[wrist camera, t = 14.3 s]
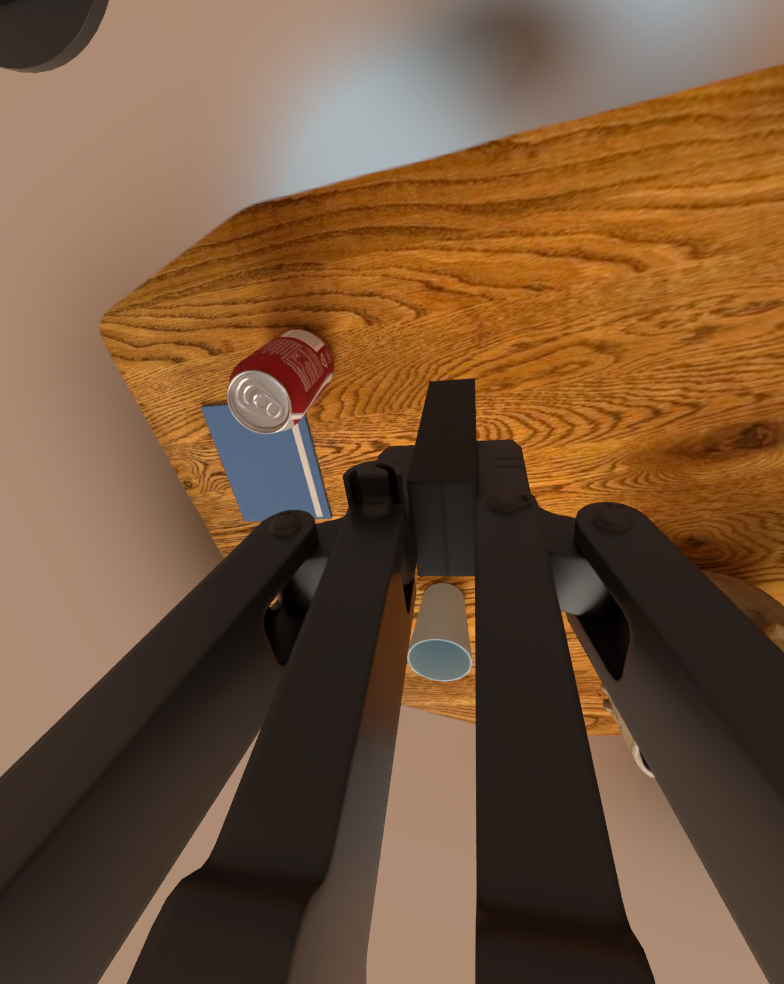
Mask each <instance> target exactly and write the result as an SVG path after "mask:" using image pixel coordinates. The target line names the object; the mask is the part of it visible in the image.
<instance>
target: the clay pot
mask: <svg viewBox="0 0 784 984" xmlns="http://www.w3.org/2000/svg"><path fill="white" fill-rule="evenodd" d="M701 571H702V570H701ZM702 572H703V573H704V574H705V575H706V576H707V577H708V578H709V579H710V580H711V581H712V582H713V583H714V584H715V585H716V586H717V587H718V588H719V589H720V590H721V591H722V592H723V593H724V594H725V595H726V596H727V597H728V598H729V599H730V600H731V601H732V602H733V603H734V604H735V605H736V606H737V607H738V608H739V609H740V610H741V611H742V612H744V613H745V614H746V615H747V616H748V617H749V618H750V619H751V620H752V621H753V622H754V623H755V624H756V625H757V626H758V627H759V628H760V629H761V630H762V631H763V632H764V633H765V634H766V635H767V636H768V637H769V638H770V639H771V640H772V641H773V642H774V643H775V644H776V645H777V646H778V647H779V648H780V649H781V650H782V651H783V652H784V607H783V606H782V605H781V603H780V602H778V601H777V600H775V599H774V598H773V597H771V596H770V595H768V594H767V593H766V592H764V591H762V590H761V589H759V588H757V587H755V586H753V585H751V584H749V583H747V582H745V581H743V580H741V579H739V578H736V577H733V576H729V575H726V574H722V573H716V572H711V571H702ZM601 688H602V690H603V691H604V693H605V694H606V695H607V696H608V697H609V699H605V700H603V707H604V708H605V709H607V710H608V711H609V712H610V713H611V714H612V715H613V717H614V719H615V721H616V722H617V724H618V725H619V729H620V731H621V733H622V736H623V738H624V740H625V742H626V744H627V746H628V747H629V749H630V751H631V753H632V755H633V757H634V759H635V761H636V763H637V764H638V766H639V767H640V768H641V769H642V770H643V772H644V773H646V774H647V775H648V776H650V777H653V778H655V777H654V775H653V773H652V771H651V769H650V768H649V766H648V764H647V762H646V760H645V759H644V757H643V755H642V753H641V751H640V750H639V748H638V746H637V744H636V742H635V741H634V739H633V737H632V735H631V733H630V732H629V730H628V728H627V726H626V724H625V723H624V721H623V719H622V717H621V715H620V714H619V712H618V710H617V708H616V706H615V705H614V703H613V701H612V699H611V697H610V695H609V694H608V692H607V690H606V688H605V686H604V685H603V684H602V685H601Z"/></svg>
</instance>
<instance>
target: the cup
mask: <svg viewBox="0 0 784 984" xmlns="http://www.w3.org/2000/svg"><path fill="white" fill-rule="evenodd" d="M407 660H408V663H409V665H410V667H411V668H412V669H413V670H414V671H415V672H416V673H418V674H419V675H421V676H423V677H425V678H428V679H431V680H435V681H452V680H456V679H459V678H462V677H463V676H465V675H466V674H467V673H468V672H469V671H470V669H471V667H472V655H471V647H470V640H469V632H468V624H467V616H466V609H465V601H464V596H463V594H462V592H461V590H460V589H458V588H457V587H456V586H454V585H451V584H448V583H437V584H434V585H431V586H430V587H428V588H427V589H426V591H425V592H424V596H423V599H422V603H421V606H420V610H419V614H418V617H417V621H416V624H415V628H414V632H413V635H412V639H411V642H410V646H409V650H408V656H407Z"/></svg>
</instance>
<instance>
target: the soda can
mask: <svg viewBox="0 0 784 984" xmlns="http://www.w3.org/2000/svg"><path fill="white" fill-rule="evenodd" d="M333 372H334V361H333V357H332V354H331V352H330V350H329V348H328V346H327V345H326V344H325V342H324V341H323V340H322V339H321V338H320V337H318V336H317V335H315V334H314V333H312V332H309V331H307V330H302V329H292V330H288V331H285V332H284V333H282V334H280V335H279V336H277V337H276V338H275V339H273V340H272V341H270V342H269V343H267V344H266V345H264V346H263V347H261V348H260V349H259V350H257V351H256V352H254V353H253V354H251V355H250V356H248V357H247V358H245V359H244V360H243V361H241V362H240V363H239V364H238V365H237V366H236V367H235V368H234V370H233V372H232V374H231V376H230V380H229V385H228V388H227V403H228V406H229V409H230V411H231V413H232V414H233V416H234V417H235V419H236V420H237V421H238V422H239V423H240V424H241V425H243V426H244V427H245V428H247V429H249V430H251V431H253V432H256V433H260V434H272V433H276V432H281V431H285V430H288V429H290V428H292V427H293V426H295V425H296V424H297V423H298V422H299V421H300V420H301V418H302V417H303V416H304V415H305V413H306V412H307V411H308V409H309V408H310V407H311V406H312V404H313V403H314V402H315V401H316V399H317V398H318V397H319V396H320V394H321V393H322V392H323V391H324V389H325V388H326V387H327V386H328V384H329V383H330V381H331V379H332V376H333Z"/></svg>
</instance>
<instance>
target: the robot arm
mask: <svg viewBox="0 0 784 984" xmlns="http://www.w3.org/2000/svg"><path fill="white" fill-rule="evenodd" d="M14 1H16V0H0V5H4V4H8V3H12V2H14ZM343 480H344V485H345V490H346V495H347V500H348V505H349V508H348V510H347V513H346V515H345V516H344V517H342V518H339V519H336V520H332V521H328V522H323V523H319V524H315V520H314V517H313V516H312V515H311V514H310V513H309V512H306V511H303V510H286V511H282V512H279V513H277V514H275V515H272V516H270V517H268V518H267V519H266V520H264V521H263V522H262V523H261V524H259V525H258V526H257V527H256V528H255V529H254V530H253V531H252V532H251V533H250V534H249V535H248V536H247V537H246V538H245V539H244V540H243V541H242V542H241V543H240V544H239V545H238V546H237V547H236V548H235V549H234V550H233V551H232V552H231V553H230V554H229V555H228V556H227V557H226V558H225V559H224V560H223V561H222V562H221V563H220V564H218V565H217V566H216V567H215V568H214V569H213V570H212V571H211V572H210V573H209V574H208V575H207V576H206V577H205V578H204V579H203V580H202V581H201V582H200V583H199V584H198V585H197V586H196V587H195V588H194V589H193V590H192V591H191V592H190V593H189V594H188V595H187V596H186V597H185V598H184V599H183V600H182V601H181V602H180V603H178V605H176V606H175V607H174V608H173V609H172V610H171V611H170V612H169V613H168V614H167V615H166V616H165V617H164V618H163V619H162V620H161V621H160V622H159V623H158V624H157V625H156V626H155V627H154V628H153V629H152V630H151V631H150V632H149V633H148V634H147V635H146V636H145V637H144V638H143V639H142V640H141V641H140V642H139V643H137V644H136V645H135V647H133V648H132V649H131V650H130V651H129V652H128V653H127V654H126V655H125V656H124V657H123V658H122V659H121V660H120V661H119V662H118V663H117V664H116V665H115V666H114V667H113V668H112V669H111V670H110V671H109V672H108V673H107V674H106V675H105V676H104V677H103V678H102V679H101V680H100V681H99V682H98V683H97V684H95V686H93V688H92V689H90V691H88V692H87V693H86V694H85V695H84V696H83V697H82V698H81V699H80V700H79V701H78V702H77V703H76V704H75V705H74V706H73V707H72V708H71V709H70V710H69V711H68V712H67V713H66V714H65V715H64V716H63V717H62V718H61V719H60V720H59V721H58V722H57V723H56V724H55V725H53V726H52V727H51V728H50V729H49V730H48V731H47V732H46V733H45V734H44V735H43V736H42V737H41V738H40V739H39V740H38V741H37V742H36V743H35V744H34V745H33V746H32V747H31V748H30V749H29V750H28V751H27V752H26V753H25V754H24V755H23V756H22V757H21V758H20V759H19V760H18V761H17V762H16V763H14V764H13V765H12V766H11V767H10V768H9V769H8V770H7V771H6V772H5V773H4V774H3V775H2V776H1V777H0V984H97V983H98V982H99V980H100V979H101V977H102V976H103V974H104V972H105V971H106V969H107V968H108V966H109V965H110V963H111V961H112V960H113V958H114V957H115V955H116V954H117V952H118V951H119V949H120V948H121V946H122V944H123V943H124V941H125V940H126V938H127V937H128V935H129V933H130V932H131V930H132V929H133V927H134V926H135V924H136V922H137V921H138V919H139V918H140V916H141V915H142V913H143V912H144V910H145V909H146V907H147V905H148V904H149V902H150V901H151V899H152V898H153V896H154V894H155V893H156V891H157V890H158V888H159V887H160V885H161V884H162V882H163V880H164V879H165V877H166V876H167V874H168V873H169V871H170V870H171V868H172V866H173V865H174V863H175V862H176V860H177V859H178V857H179V855H180V854H181V852H182V851H183V849H184V848H185V846H186V845H187V843H188V842H189V840H190V838H191V837H192V835H193V834H194V832H195V830H196V829H197V827H198V826H199V824H200V823H201V821H202V820H203V818H204V817H205V815H206V813H207V812H208V810H209V809H210V807H211V805H212V804H213V803H214V801H215V799H216V798H217V796H218V795H219V793H220V792H221V790H222V788H223V787H224V785H225V784H226V782H227V781H228V779H229V778H230V776H231V774H232V773H233V771H234V770H235V768H236V767H237V765H238V764H239V762H240V760H241V759H242V757H243V756H244V754H245V753H246V751H247V750H248V748H249V746H250V745H251V743H252V742H253V740H254V739H255V737H256V735H257V734H258V732H259V731H260V729H261V731H260V733H259V735H258V738H257V741H256V743H255V746H254V748H253V751H252V753H251V756H250V758H249V761H248V764H247V766H246V768H245V771H244V773H243V776H242V778H241V781H240V783H239V786H238V789H237V791H236V794H235V796H234V799H233V801H232V804H231V806H230V809H229V811H228V814H227V816H226V819H225V821H224V824H223V827H222V829H221V832H220V834H219V837H218V839H217V842H216V844H215V846H214V849H213V850H212V852H211V854H210V857H209V858H208V860H207V861H206V862H205V863H204V865H203V866H202V867H201V868H199V869H198V870H196V871H194V872H193V873H191V874H190V875H188V876H187V877H185V878H183V879H182V880H181V881H180V882H179V883H178V885H177V886H176V887H175V888H174V890H173V891H172V892H171V894H170V895H169V896H168V897H167V899H166V901H165V903H164V904H163V906H162V908H161V910H160V912H159V914H158V916H157V918H156V920H155V922H154V924H153V926H152V928H151V930H150V932H149V934H148V937H147V939H146V941H145V943H144V946H143V948H142V950H141V953H140V955H139V957H138V960H137V962H136V964H135V966H134V969H133V971H132V973H131V976H130V978H129V980H128V983H127V984H366V960H367V949H368V940H369V933H370V925H371V918H372V911H373V904H374V896H375V889H376V882H377V874H378V867H379V860H380V852H381V845H382V838H383V830H384V824H385V816H386V809H387V801H388V794H389V787H390V780H391V773H392V765H393V758H394V751H395V744H396V736H397V729H398V722H399V714H400V707H401V700H402V693H403V685H404V678H405V671H406V664H407V656H408V649H409V642H410V634H411V627H412V620H413V613H414V605H415V598H416V584H415V576H414V575H415V569H416V563H417V571H418V576H475V658H476V838H477V839H476V845H477V847H476V850H477V851H476V855H477V856H476V860H477V904H476V905H477V906H476V907H477V908H476V956H475V957H476V959H475V960H476V961H475V965H476V966H475V967H476V968H475V969H476V971H475V972H476V973H475V979H476V980H475V983H476V984H655V980H654V977H653V974H652V971H651V968H650V966H649V963H648V960H647V958H646V955H645V952H644V949H643V948H642V946H641V944H640V943H639V941H638V940H637V938H636V936H635V935H634V933H633V931H632V930H631V928H630V925H629V922H628V920H627V916H626V913H625V909H624V905H623V901H622V897H621V892H620V887H619V882H618V878H617V873H616V868H615V864H614V859H613V855H612V850H611V845H610V840H609V836H608V831H607V826H606V822H605V817H604V812H603V807H602V803H601V798H600V793H599V788H598V784H597V779H596V775H595V770H594V765H593V761H592V756H591V751H590V746H589V741H588V737H587V732H586V727H585V723H584V718H583V713H582V709H581V704H580V699H579V694H578V690H577V685H576V680H575V676H574V671H573V666H572V662H571V657H570V652H569V647H568V643H567V638H566V633H565V629H564V624H563V619H562V615H561V611H563V612H566V615H567V619H568V622H569V623H570V625H571V627H572V629H573V631H574V632H575V634H576V636H577V638H578V640H579V641H580V643H581V645H582V647H583V649H584V650H585V652H586V654H587V656H588V658H589V659H590V661H591V663H592V665H593V667H594V668H595V670H596V672H597V674H598V676H599V677H600V679H601V681H602V683H603V685H604V686H605V688H606V690H607V692H608V694H609V695H610V697H611V699H612V701H613V703H614V705H615V706H616V708H617V710H618V712H619V714H620V715H621V717H622V719H623V721H624V723H625V724H626V726H627V728H628V730H629V732H630V733H631V735H632V737H633V739H634V741H635V742H636V744H637V746H638V748H639V750H640V751H641V753H642V755H643V757H644V759H645V760H646V762H647V764H648V766H649V768H650V769H651V771H652V773H653V775H654V777H655V778H656V780H657V782H658V784H659V786H660V787H661V789H662V791H663V793H664V795H665V796H666V798H667V800H668V802H669V804H670V806H671V807H672V809H673V811H674V813H675V815H676V816H677V818H678V820H679V822H680V824H681V825H682V827H683V829H684V831H685V832H686V834H687V836H688V838H689V840H690V842H691V843H692V845H693V847H694V849H695V851H696V852H697V854H698V856H699V858H700V860H701V861H702V863H703V865H704V867H705V869H706V870H707V872H708V874H709V876H710V878H711V879H712V881H713V883H714V885H715V887H716V888H717V890H718V892H719V894H720V896H721V897H722V899H723V901H724V903H725V905H726V906H727V908H728V910H729V912H730V914H731V916H732V917H733V919H734V921H735V923H736V924H737V926H738V928H739V930H740V932H741V934H742V935H743V937H744V939H745V941H746V943H747V944H748V946H749V948H750V950H751V952H752V953H753V955H754V957H755V959H756V960H757V962H758V964H759V966H760V968H761V969H762V971H763V973H764V975H765V977H766V979H767V980H768V982H769V984H784V652H783V651H782V650H781V649H780V648H779V647H778V646H777V645H776V644H775V643H774V642H773V641H772V640H771V639H770V638H769V637H768V636H767V635H766V634H765V633H764V632H763V631H762V630H761V629H760V628H759V627H758V626H757V625H756V624H755V623H754V622H753V621H752V620H751V619H750V618H749V617H748V616H747V615H746V614H745V613H744V612H742V611H741V610H740V609H739V608H738V607H737V606H736V605H735V604H734V603H733V602H732V601H731V600H730V599H729V598H728V597H727V596H726V595H725V594H724V593H723V592H722V591H721V590H720V589H719V588H718V587H717V586H716V585H715V584H714V583H713V582H712V581H711V580H710V579H709V578H708V577H707V576H706V575H705V574H704V573H703V572H702V571H701V570H700V569H699V568H698V567H697V566H696V565H695V564H694V563H693V562H692V561H691V560H690V559H689V558H688V557H687V556H686V555H685V554H684V553H683V552H682V551H681V550H680V549H679V548H678V547H677V546H676V545H675V544H674V543H673V542H672V541H671V540H670V539H669V538H668V537H667V536H666V535H665V534H664V533H663V532H662V531H661V530H660V529H659V528H658V527H657V526H656V525H655V524H654V523H653V522H651V521H650V520H649V519H648V518H647V517H646V516H645V515H644V514H642V513H641V512H640V511H638V510H637V509H635V508H632V507H629V506H626V505H624V504H619V503H612V502H602V503H594V504H590V505H587V506H585V507H583V508H582V509H581V510H579V511H578V513H577V516H576V518H573V517H567V516H562V515H557V514H553V513H551V512H548V511H546V510H544V509H542V508H541V507H539V506H538V502H537V501H536V499H535V497H534V496H533V495H531V493H530V488H529V483H528V478H527V473H526V468H525V463H524V459H523V453H522V448H521V447H520V446H519V445H518V444H517V443H516V442H514V441H513V440H490V441H476V407H475V378H473V379H459V380H445V381H431V382H430V383H429V387H428V391H427V396H426V400H425V404H424V409H423V413H422V417H421V422H420V426H419V430H418V435H417V439H416V443H415V445H408V446H389V447H388V448H386V449H385V450H384V451H383V452H382V453H381V454H379V456H378V459H377V460H376V461H369V462H364V463H361V464H358V465H355V466H353V467H352V468H350V469H348V470H347V471H346V472H345V473H344V475H343ZM276 596H277V597H278V600H277V601H276V602H275V604H274V605H273V606H271V607H269V605H270V604H271V602H272V601H273V600H274V599H275V597H276Z"/></svg>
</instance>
